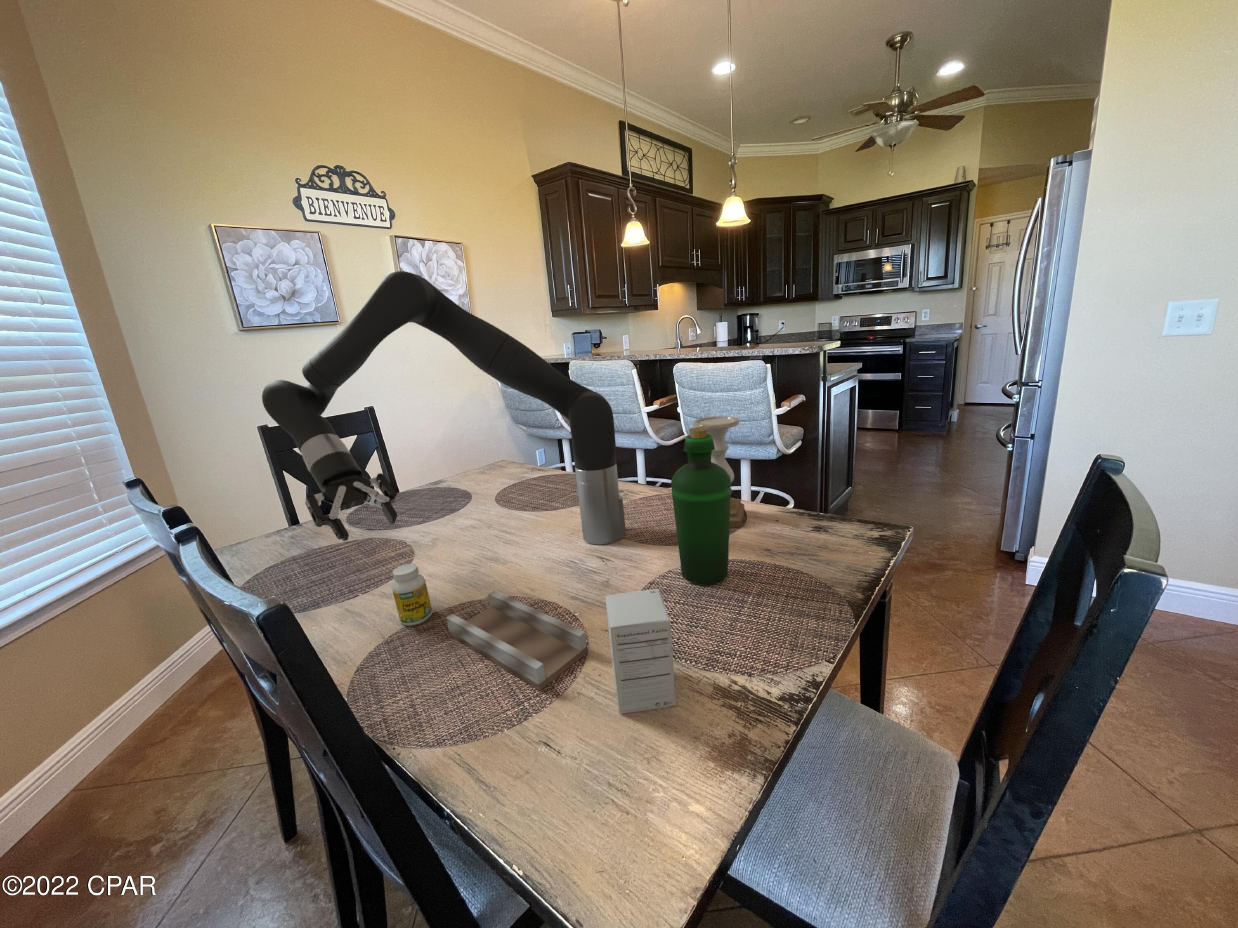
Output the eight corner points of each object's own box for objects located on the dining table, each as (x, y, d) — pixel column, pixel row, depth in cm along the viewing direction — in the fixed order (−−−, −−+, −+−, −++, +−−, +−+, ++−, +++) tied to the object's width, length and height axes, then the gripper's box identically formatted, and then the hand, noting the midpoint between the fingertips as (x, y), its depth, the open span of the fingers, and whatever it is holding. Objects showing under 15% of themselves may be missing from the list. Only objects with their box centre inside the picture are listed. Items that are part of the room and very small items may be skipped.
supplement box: (613, 674, 66) (604, 593, 62) (666, 667, 66) (660, 586, 63) (618, 716, 59) (608, 626, 55) (677, 707, 59) (671, 618, 56)
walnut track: (450, 636, 78) (446, 617, 77) (497, 608, 85) (494, 590, 84) (539, 690, 64) (536, 668, 63) (587, 652, 71) (585, 631, 70)
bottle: (739, 565, 92) (736, 422, 84) (726, 594, 82) (722, 436, 75) (685, 558, 96) (678, 422, 89) (668, 585, 87) (658, 435, 79)
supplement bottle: (429, 605, 88) (418, 558, 85) (436, 618, 83) (425, 569, 81) (397, 616, 85) (385, 568, 82) (403, 630, 80) (390, 580, 78)
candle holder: (741, 528, 108) (738, 425, 101) (692, 526, 112) (687, 426, 105) (744, 510, 118) (743, 415, 111) (700, 508, 121) (696, 416, 115)
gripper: (289, 460, 84) (331, 533, 79) (371, 442, 94) (412, 505, 90) (287, 485, 88) (327, 555, 84) (366, 465, 99) (404, 526, 95)
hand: (371, 529), depth 87 cm, fingers open, 8 cm apart
